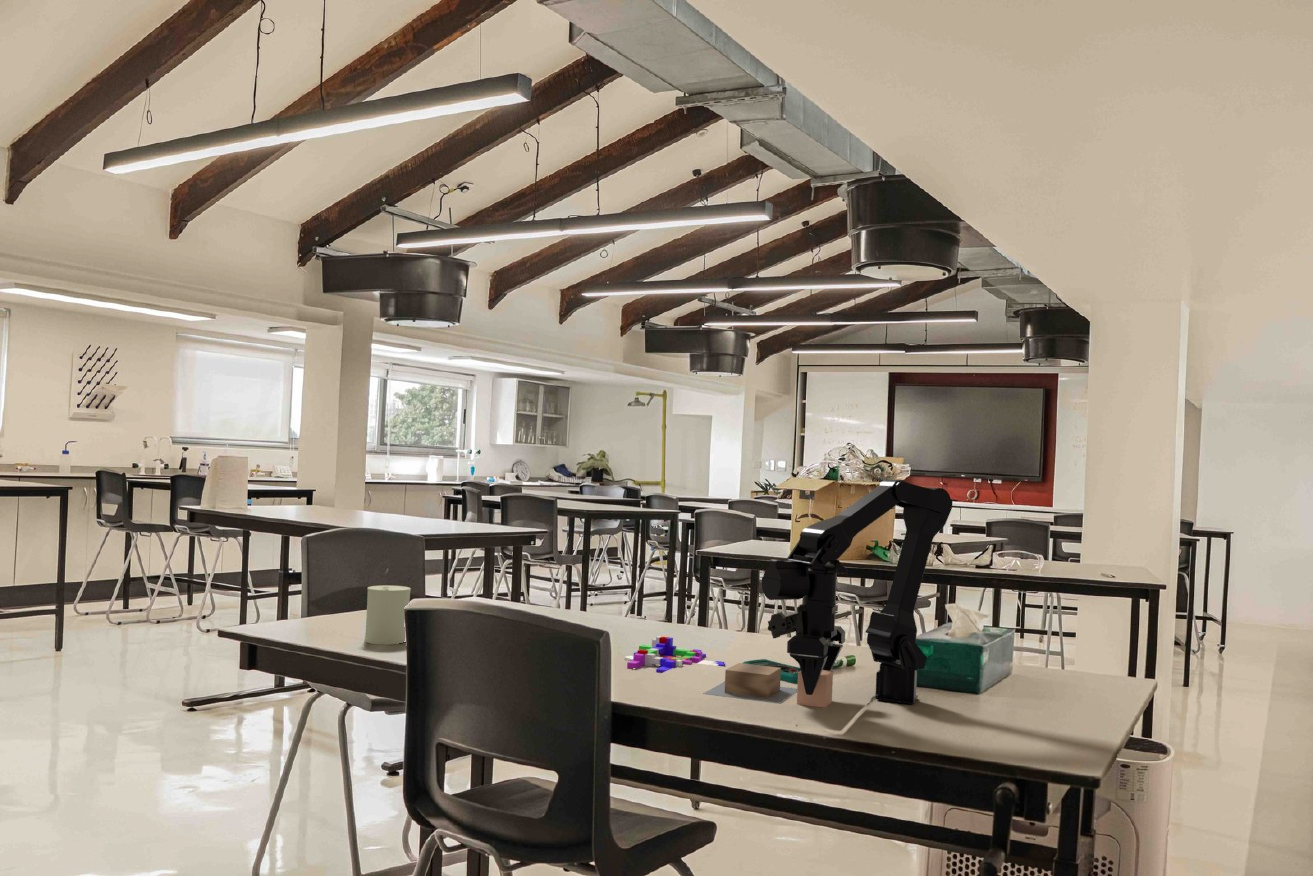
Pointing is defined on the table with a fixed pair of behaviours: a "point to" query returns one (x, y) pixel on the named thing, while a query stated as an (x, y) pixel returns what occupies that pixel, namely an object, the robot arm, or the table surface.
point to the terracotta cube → (816, 691)
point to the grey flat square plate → (775, 698)
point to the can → (386, 614)
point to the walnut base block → (752, 680)
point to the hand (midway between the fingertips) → (815, 689)
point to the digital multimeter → (787, 671)
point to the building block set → (666, 656)
